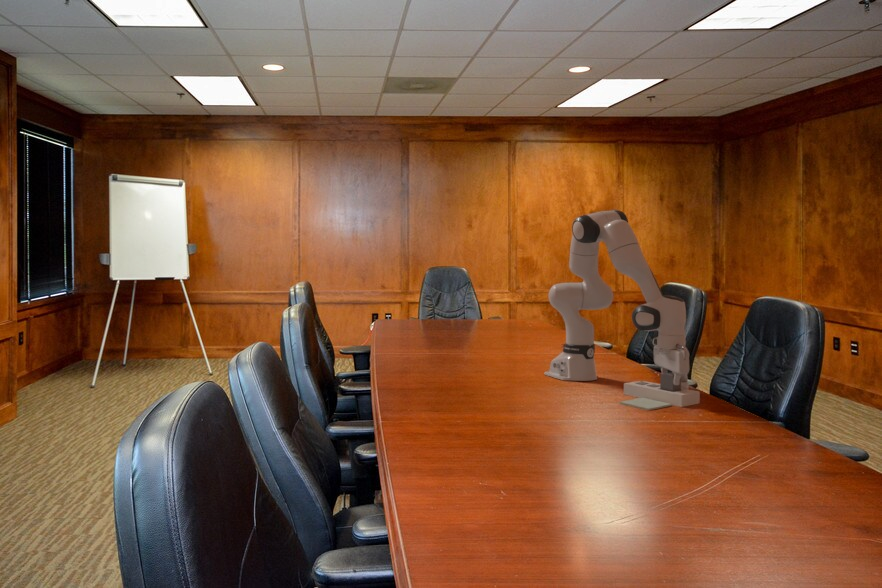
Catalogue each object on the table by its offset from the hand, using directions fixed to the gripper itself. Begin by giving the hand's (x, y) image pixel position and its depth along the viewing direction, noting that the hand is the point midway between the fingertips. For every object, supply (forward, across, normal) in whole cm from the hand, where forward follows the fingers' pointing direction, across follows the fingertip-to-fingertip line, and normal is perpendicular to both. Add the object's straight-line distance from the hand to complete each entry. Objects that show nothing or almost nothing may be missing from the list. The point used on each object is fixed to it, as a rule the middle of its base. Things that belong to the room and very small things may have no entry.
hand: (670, 382), depth 228 cm
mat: (+6, -5, +11) cm, 14 cm away
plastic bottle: (+7, +10, -8) cm, 14 cm away
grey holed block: (+6, +3, +2) cm, 8 cm away
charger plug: (+6, 0, 0) cm, 6 cm away
